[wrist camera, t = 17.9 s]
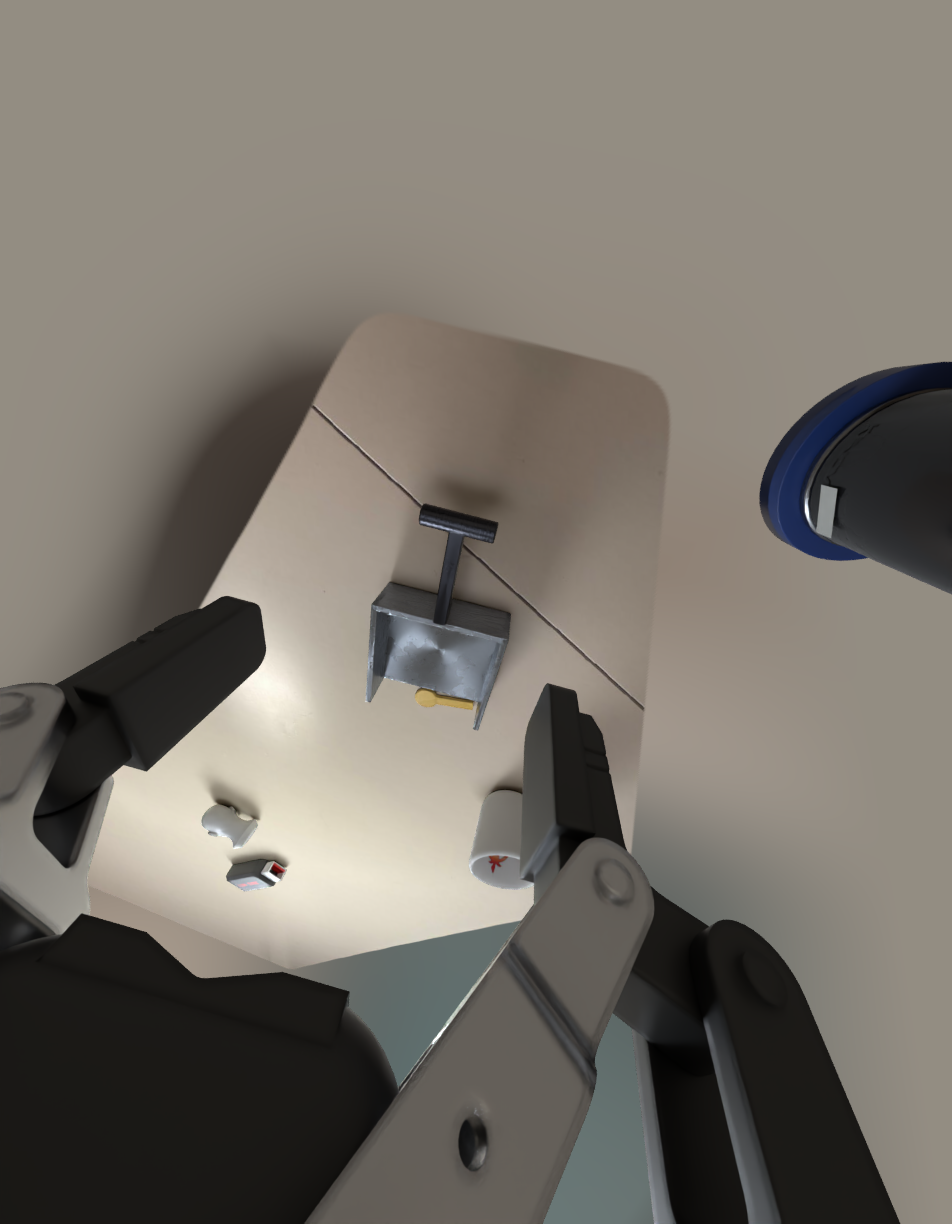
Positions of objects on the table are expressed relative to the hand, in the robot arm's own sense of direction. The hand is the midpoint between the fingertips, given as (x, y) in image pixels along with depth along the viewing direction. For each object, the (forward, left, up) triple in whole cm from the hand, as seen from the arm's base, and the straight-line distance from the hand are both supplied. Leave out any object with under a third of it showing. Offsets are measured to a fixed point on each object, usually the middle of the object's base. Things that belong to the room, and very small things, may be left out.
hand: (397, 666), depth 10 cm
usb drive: (+26, +77, -19) cm, 83 cm away
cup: (-13, +36, -19) cm, 43 cm away
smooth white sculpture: (+28, +58, -19) cm, 67 cm away
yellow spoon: (-1, +21, -19) cm, 28 cm away
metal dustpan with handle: (+1, +10, -19) cm, 21 cm away
